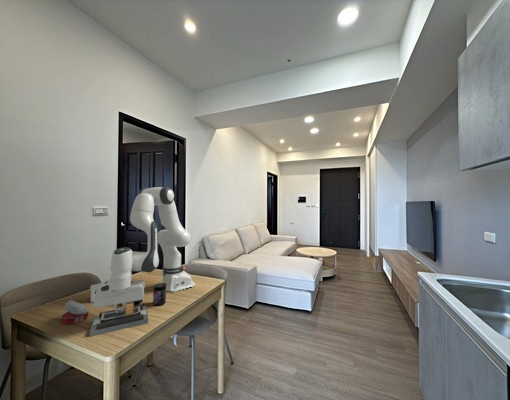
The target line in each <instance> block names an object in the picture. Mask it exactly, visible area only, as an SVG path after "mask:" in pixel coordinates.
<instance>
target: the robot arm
mask: <svg viewBox="0 0 510 400" xmlns="http://www.w3.org/2000/svg"><path fill="white" fill-rule="evenodd" d="M174 199H175V192H174V190H173V189H172V188H171V187H169V186H168V187H167V186H161V187H160V186H155V187H149V188H146V187H145V188H142V189H140V190H139V191H138V192H137V195H136V197H135V199H134V201H133V204H132V207H131V210H130V215H129V221H130V223H131V224H132V226H133V227H135V228H136V229H138V230H141V231H143V232H144V233H146V235H147V251H133V250H132V249H131V248H130V247H120V248H117V249H114V251H113V252H112V254H111V259H110V260H111V261H110V272H111V273H110V275H109V279H108V280H105V281H102V282H100V284H99V283H98V284H99V286H98V291H97V293H96V295H95V298H94V302H93V307H94V308H95V309H98V308H99V309H100V308H102V307H103V308H105V307H108V306H113V309H114V310H116V314H117V313H122V312H123V309H124V308H126V303H127V302H132V301H138V300H142V299H144V298H145V290H144V289H145V288H146V282H145V281H144V280H141V279H140V280H133V273H132V272H143V273H152V272H153V271H155V270H156V269H157V268H158V267H159V263H160V254H159V245H160V248H161V251H162V255H163V267H162V278H161V283H166V284H167V286H166V292H170V293H175V292H180V291H184V290H187V289H186V288H188V289H190V288H189V287H192V288H194V287H193V286H196V283H195V281H193V280H192V276H191V275H190V274H189V273H188V272H186V267H185V266H184V265H182V254H181V252H180V251H179V250H178V248H182V247H187V246H188V245H189V244H190V242H191V237H192V236H191V234H190V233H189V231H187V230H186V229H185V228H184V227H183V225H182V223H181V222H180V219H179V215H178V210H177V206H176V203H175V200H174ZM155 206H157V211H158V215H159V220H160V223H161V226H163V227H164V228H165V229H162V230H161V229H160V230H159V228H158V224H157V223H156V222H155V220H154V211H155ZM183 289H184V290H183ZM179 290H180V291H179ZM120 304H122V306H121V307H118V305H120Z"/></svg>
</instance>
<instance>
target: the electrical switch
mask: <svg viewBox="0 0 510 400" xmlns="http://www.w3.org/2000/svg"><path fill="white" fill-rule="evenodd" d="M100 283H101V282H100ZM100 283H96V284H91V285H90V286H89V289H90V290H89V291H90V300H89V301H90V303H94V298H95V295H96V293H97V291H98V286H99V284H100Z"/></svg>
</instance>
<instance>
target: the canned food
mask: <svg viewBox="0 0 510 400" xmlns="http://www.w3.org/2000/svg"><path fill="white" fill-rule="evenodd" d="M64 307H65V309H66V312H65V313H63V314H62V315H61V325H64V326H66V325H68V326H71V325H75V324H79V323H81V322H83V321H85V320H86V319H88V317H89V312H90V311H89V308H88V307H87V306H86V305H83V304H81V303H80V302H76V301H74V300H68V301H67V302H66V303H65V306H64Z"/></svg>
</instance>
